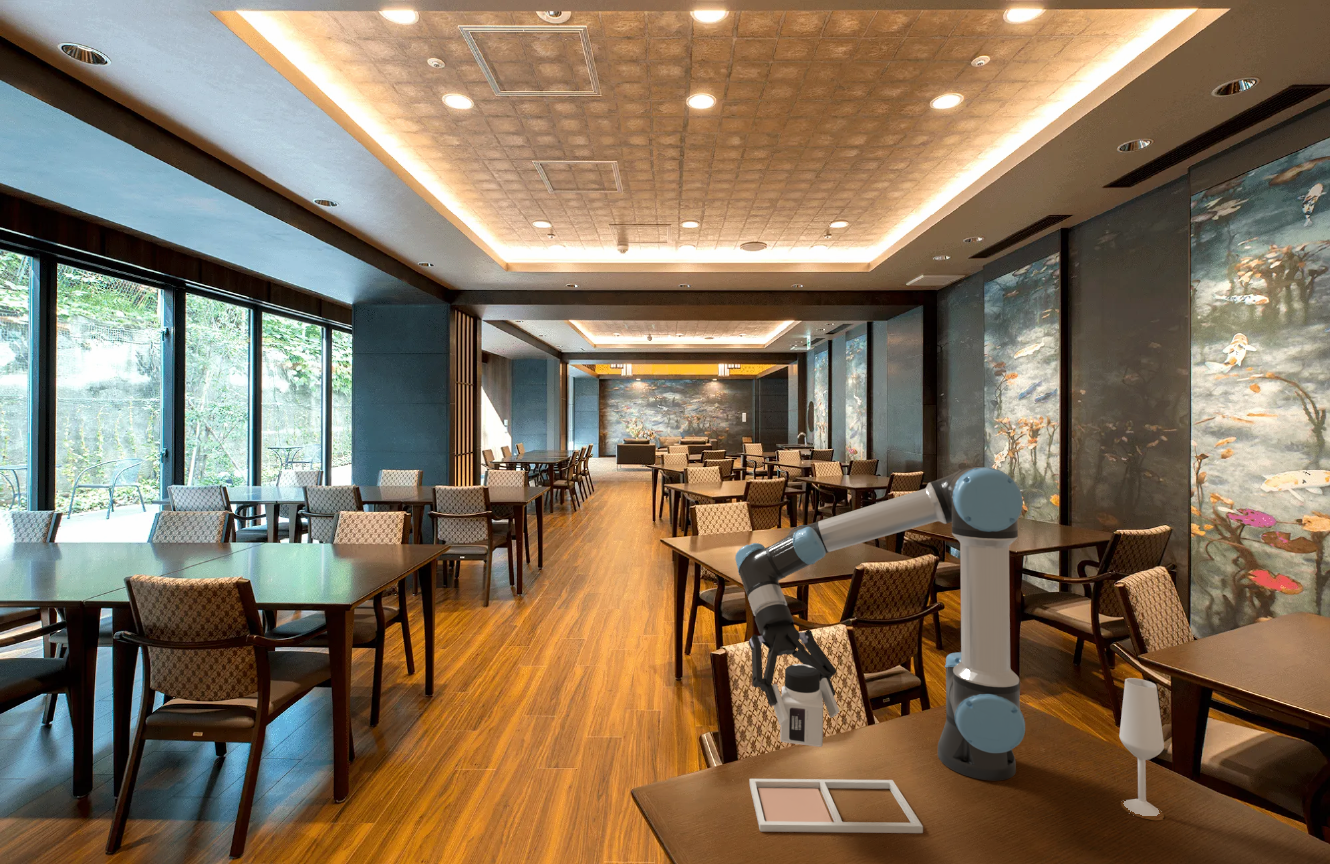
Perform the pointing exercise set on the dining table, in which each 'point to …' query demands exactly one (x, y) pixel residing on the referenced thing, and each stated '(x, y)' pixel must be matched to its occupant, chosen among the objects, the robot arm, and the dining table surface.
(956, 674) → the robot arm
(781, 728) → the container
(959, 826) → the dining table surface
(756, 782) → the bay frame
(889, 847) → the dining table surface
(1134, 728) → the champagne flute
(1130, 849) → the dining table surface
